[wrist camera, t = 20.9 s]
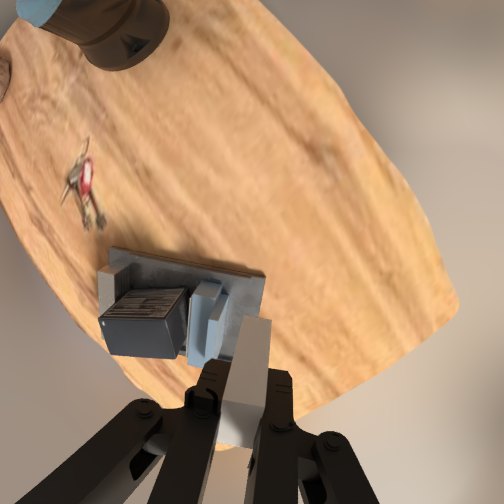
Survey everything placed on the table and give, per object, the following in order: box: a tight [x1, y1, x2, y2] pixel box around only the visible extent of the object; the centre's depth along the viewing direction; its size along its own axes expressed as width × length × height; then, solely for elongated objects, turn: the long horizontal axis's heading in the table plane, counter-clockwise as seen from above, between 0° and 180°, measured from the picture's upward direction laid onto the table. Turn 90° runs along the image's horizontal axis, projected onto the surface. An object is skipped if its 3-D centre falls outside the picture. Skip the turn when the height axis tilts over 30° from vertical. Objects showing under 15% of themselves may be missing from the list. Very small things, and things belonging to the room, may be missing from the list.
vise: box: [97, 246, 266, 362], centre depth 43 cm, size 16×25×6 cm, turn 81°
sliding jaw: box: [186, 280, 229, 368], centre depth 40 cm, size 12×5×8 cm, turn 171°
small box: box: [98, 287, 191, 359], centre depth 39 cm, size 11×6×10 cm, turn 96°
